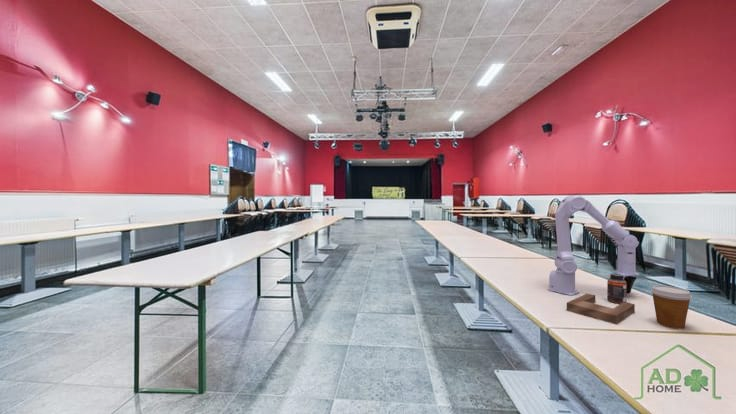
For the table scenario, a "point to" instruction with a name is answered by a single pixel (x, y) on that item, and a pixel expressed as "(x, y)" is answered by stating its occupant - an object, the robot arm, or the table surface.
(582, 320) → the table surface
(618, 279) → the supplement bottle
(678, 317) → the disposable coffee cup
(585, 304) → the brown u-shaped wooden block
